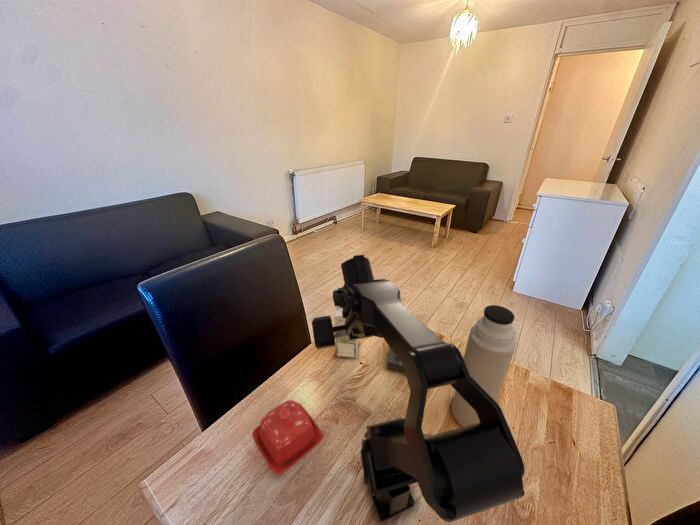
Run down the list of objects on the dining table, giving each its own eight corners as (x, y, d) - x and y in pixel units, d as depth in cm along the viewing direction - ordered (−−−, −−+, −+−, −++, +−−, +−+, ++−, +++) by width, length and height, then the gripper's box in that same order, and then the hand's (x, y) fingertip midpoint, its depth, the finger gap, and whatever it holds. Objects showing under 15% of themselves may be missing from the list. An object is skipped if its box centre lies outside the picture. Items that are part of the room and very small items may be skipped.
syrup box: (357, 344, 83) (358, 303, 77) (356, 359, 78) (356, 316, 71) (338, 342, 84) (337, 302, 77) (335, 357, 78) (334, 315, 72)
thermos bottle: (485, 401, 66) (517, 302, 54) (493, 434, 59) (532, 329, 47) (449, 395, 68) (472, 297, 55) (453, 427, 61) (480, 323, 48)
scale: (433, 380, 72) (435, 371, 70) (386, 368, 75) (387, 360, 74) (436, 347, 82) (437, 339, 80) (395, 338, 85) (395, 331, 84)
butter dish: (327, 441, 58) (325, 414, 54) (276, 483, 51) (270, 456, 48) (297, 403, 66) (294, 377, 62) (250, 436, 59) (242, 409, 55)
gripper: (397, 273, 60) (379, 298, 74) (309, 284, 56) (307, 309, 69) (413, 324, 55) (391, 341, 69) (317, 341, 51) (314, 355, 65)
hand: (351, 335), depth 68 cm, fingers open, 9 cm apart
